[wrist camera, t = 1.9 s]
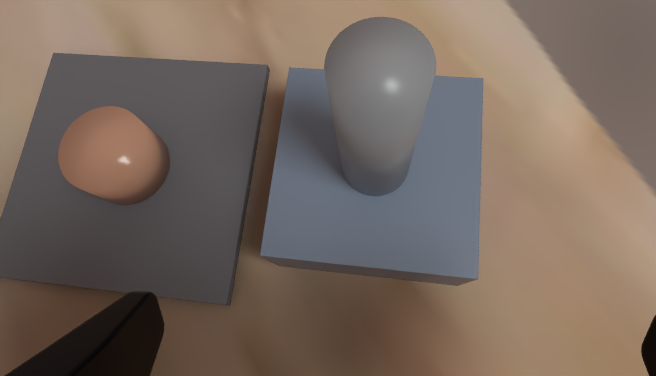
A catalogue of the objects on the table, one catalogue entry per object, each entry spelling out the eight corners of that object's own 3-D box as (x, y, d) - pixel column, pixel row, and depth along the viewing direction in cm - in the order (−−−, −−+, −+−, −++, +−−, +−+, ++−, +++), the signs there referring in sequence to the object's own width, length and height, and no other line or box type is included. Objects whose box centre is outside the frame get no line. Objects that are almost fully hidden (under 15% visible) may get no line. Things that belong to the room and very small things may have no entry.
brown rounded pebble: (160, 209, 21) (133, 195, 19) (82, 200, 22) (46, 186, 19) (178, 131, 22) (155, 109, 20) (103, 125, 23) (72, 102, 20)
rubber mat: (229, 305, 20) (226, 305, 20) (-9, 276, 21) (-17, 275, 21) (269, 70, 23) (267, 64, 23) (59, 57, 25) (53, 52, 24)
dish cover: (457, 285, 19) (563, 252, 9) (279, 265, 20) (182, 214, 10) (463, 118, 21) (555, -71, 11) (302, 107, 22) (242, -76, 12)
